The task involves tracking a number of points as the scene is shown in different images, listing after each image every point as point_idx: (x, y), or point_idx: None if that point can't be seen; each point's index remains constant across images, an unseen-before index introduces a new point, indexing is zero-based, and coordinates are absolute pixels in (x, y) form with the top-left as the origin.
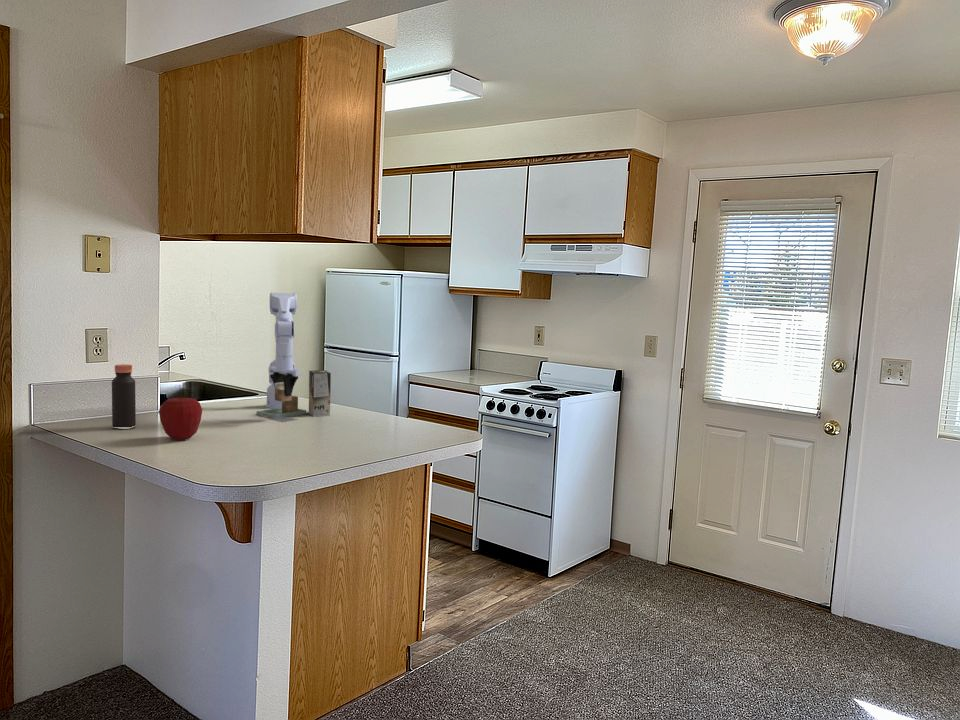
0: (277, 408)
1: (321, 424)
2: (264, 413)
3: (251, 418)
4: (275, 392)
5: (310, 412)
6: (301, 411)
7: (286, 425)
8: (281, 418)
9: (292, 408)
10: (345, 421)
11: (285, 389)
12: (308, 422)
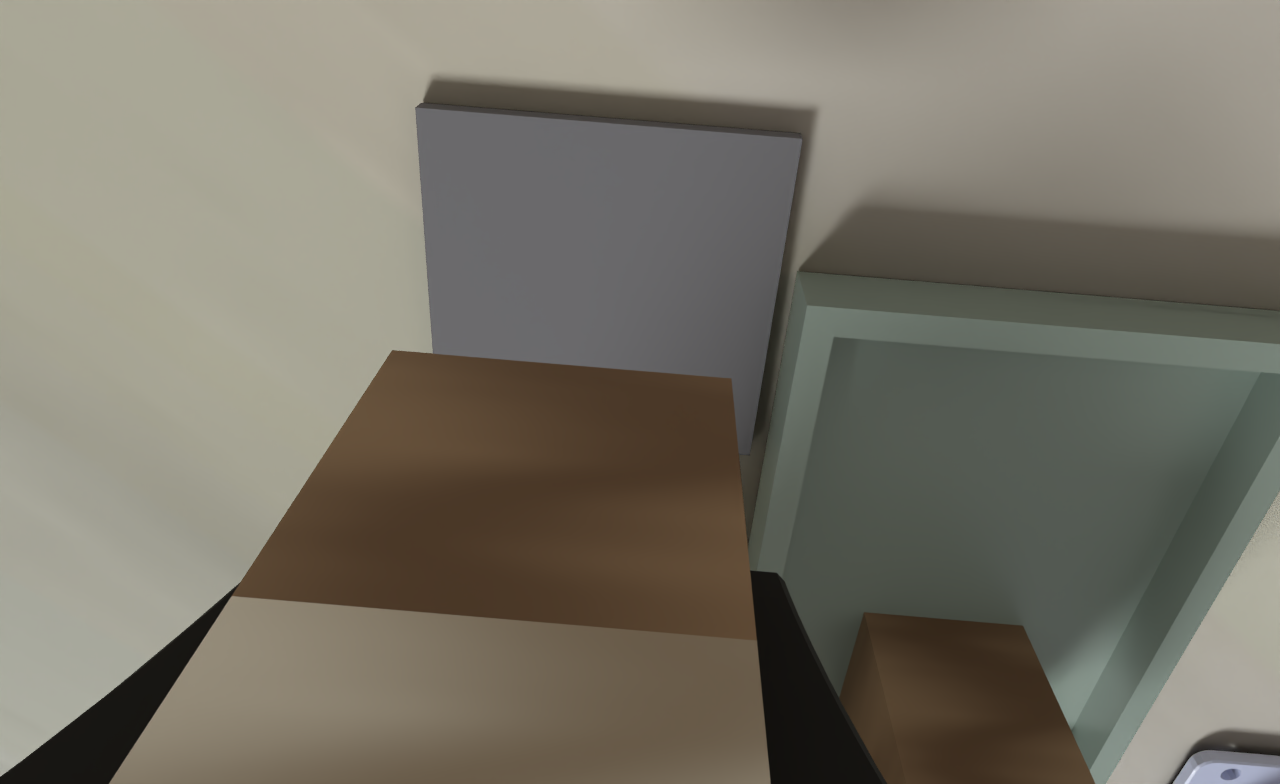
0: (1154, 680)
1: (12, 426)
2: (1110, 326)
3: (1245, 63)
4: (705, 528)
5: None
6: None
7: (203, 7)
8: (697, 335)
9: (865, 716)
10: (69, 692)
11: (170, 684)
12: (246, 419)
